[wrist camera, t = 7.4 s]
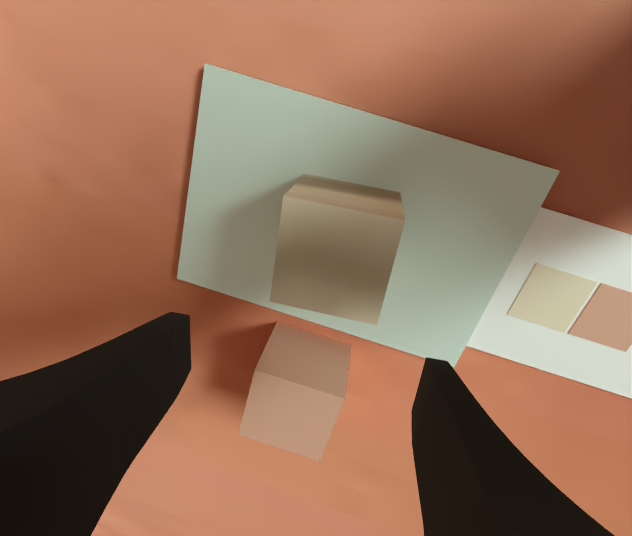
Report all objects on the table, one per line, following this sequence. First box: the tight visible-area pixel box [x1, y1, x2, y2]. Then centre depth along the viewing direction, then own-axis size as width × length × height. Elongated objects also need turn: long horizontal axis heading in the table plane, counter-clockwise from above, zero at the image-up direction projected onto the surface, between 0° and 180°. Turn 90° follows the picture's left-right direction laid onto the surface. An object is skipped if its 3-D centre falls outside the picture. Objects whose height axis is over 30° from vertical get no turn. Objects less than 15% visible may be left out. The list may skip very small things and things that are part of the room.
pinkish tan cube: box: [238, 322, 352, 461], centre depth 22 cm, size 4×4×4 cm
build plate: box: [177, 64, 560, 367], centre depth 20 cm, size 11×16×1 cm
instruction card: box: [466, 207, 632, 398], centre depth 20 cm, size 8×11×1 cm
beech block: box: [270, 174, 405, 325], centre depth 17 cm, size 4×4×4 cm
